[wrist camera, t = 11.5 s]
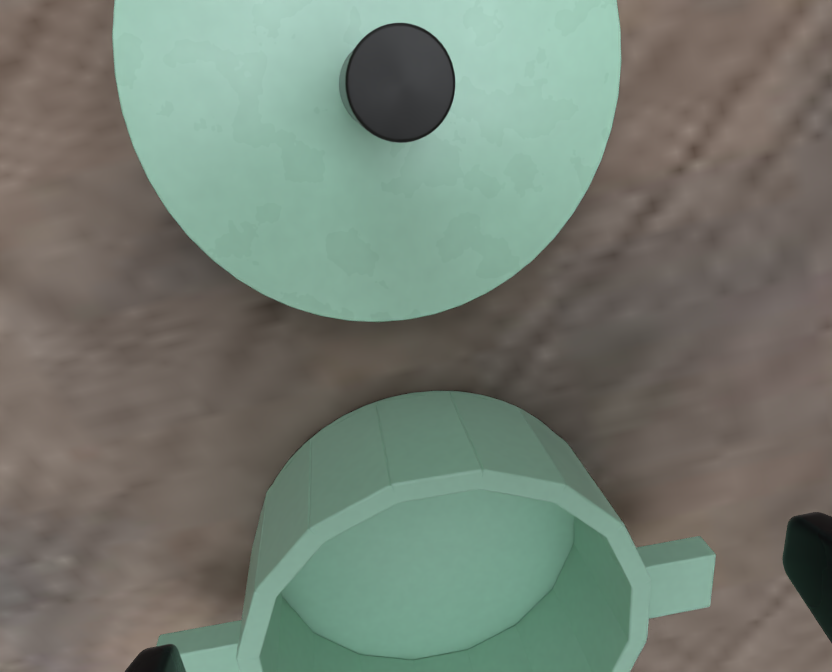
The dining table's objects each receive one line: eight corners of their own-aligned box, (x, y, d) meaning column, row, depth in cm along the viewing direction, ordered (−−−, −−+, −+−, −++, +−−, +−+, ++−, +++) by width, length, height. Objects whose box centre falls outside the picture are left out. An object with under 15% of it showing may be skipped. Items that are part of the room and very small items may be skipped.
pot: (641, 620, 28) (708, 730, 23) (225, 701, 26) (204, 839, 22) (657, 355, 23) (747, 425, 18) (143, 433, 21) (91, 534, 17)
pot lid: (601, 282, 22) (688, 341, 17) (190, 338, 20) (146, 422, 15) (612, -229, 16) (746, -375, 11) (54, -199, 15) (-85, -350, 10)
